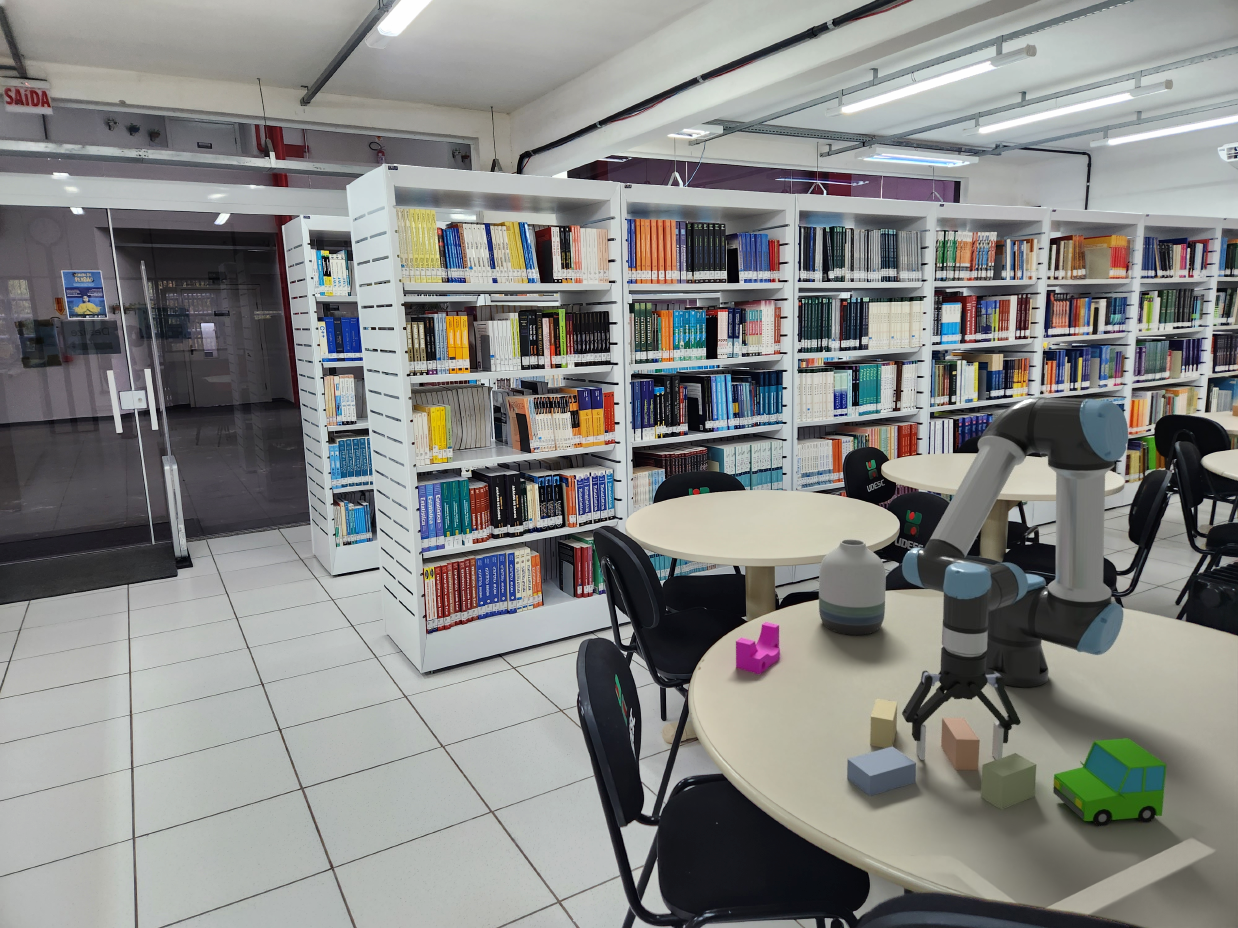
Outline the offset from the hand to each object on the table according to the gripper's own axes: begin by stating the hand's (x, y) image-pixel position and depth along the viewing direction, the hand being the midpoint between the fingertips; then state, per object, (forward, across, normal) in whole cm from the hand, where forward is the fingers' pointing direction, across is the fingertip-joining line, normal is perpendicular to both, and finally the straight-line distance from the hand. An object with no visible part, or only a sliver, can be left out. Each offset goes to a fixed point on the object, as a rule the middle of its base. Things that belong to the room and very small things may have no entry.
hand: (958, 757), depth 142 cm
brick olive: (0, -4, +12) cm, 13 cm away
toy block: (+1, +32, -42) cm, 53 cm away
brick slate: (+1, +16, +8) cm, 18 cm away
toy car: (0, -18, +15) cm, 24 cm away
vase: (0, +7, -64) cm, 64 cm away
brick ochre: (0, +12, -7) cm, 14 cm away
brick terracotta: (0, 0, 0) cm, 0 cm away
